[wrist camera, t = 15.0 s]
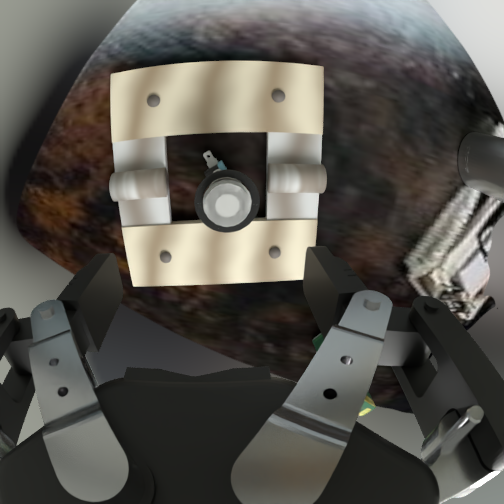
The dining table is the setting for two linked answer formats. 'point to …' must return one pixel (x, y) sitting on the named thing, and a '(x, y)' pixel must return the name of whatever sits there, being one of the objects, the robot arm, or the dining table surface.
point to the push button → (225, 198)
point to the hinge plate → (216, 121)
